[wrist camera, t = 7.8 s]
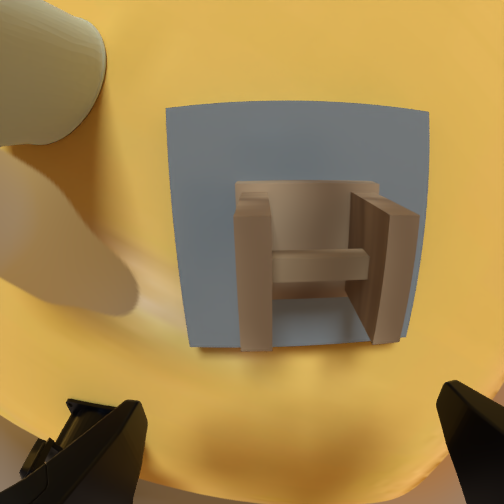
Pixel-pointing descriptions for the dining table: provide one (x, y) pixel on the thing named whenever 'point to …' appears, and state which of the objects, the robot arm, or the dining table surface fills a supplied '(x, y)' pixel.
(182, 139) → the slab
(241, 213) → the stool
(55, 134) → the can
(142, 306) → the dining table surface
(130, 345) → the dining table surface
